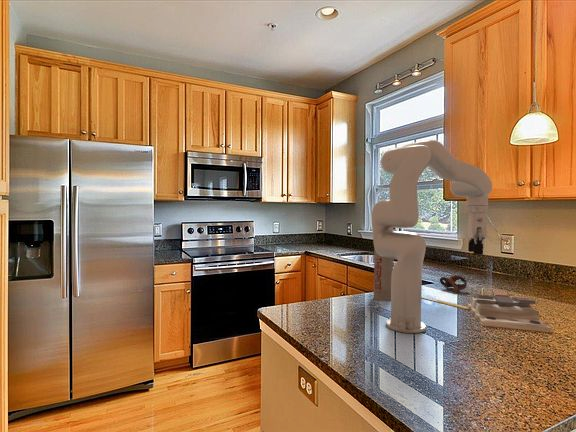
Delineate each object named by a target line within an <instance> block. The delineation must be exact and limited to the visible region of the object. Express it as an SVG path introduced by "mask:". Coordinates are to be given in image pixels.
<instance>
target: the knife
mask: <svg viewBox="0 0 576 432" xmlns="http://www.w3.org/2000/svg"><path fill="white" fill-rule="evenodd" d="M421 299H425V300H428V301H429V300H430V301H433V302H436V303H440V304H443V305H447V306H452V307H456V308H459V309H463V310H466V311H467V310H469V308H468V306H465V305H460V304H456V303H452V302H449V301H444V300H441V299H433V298H429V297H425V296H421ZM469 311H470V310H469Z"/></svg>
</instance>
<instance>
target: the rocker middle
mask: <svg viewBox="0 0 576 432" xmlns="http://www.w3.org/2000/svg"><path fill="white" fill-rule="evenodd" d="M492 296H493V298H494V299H495V300H496V302H497V303H498V305H506V306H514V302H513V301H512V297H510V295H509V294H508V293H507V292H503V291H502V292H501V291H493V292H492Z"/></svg>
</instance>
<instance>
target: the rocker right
mask: <svg viewBox="0 0 576 432" xmlns="http://www.w3.org/2000/svg"><path fill="white" fill-rule="evenodd" d="M511 299H512V300H513V301H515V302H518V303H527V304H530V305H536V300H534V299H531V298H529V297H526V296H524V297H523V296H512V297H511Z"/></svg>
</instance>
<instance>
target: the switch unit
mask: <svg viewBox="0 0 576 432" xmlns="http://www.w3.org/2000/svg"><path fill="white" fill-rule="evenodd" d="M470 300H471V301H470V303H468V304H467V307H468V308H469V311H470V312H471V314H472V315H473V316H474V317H475V319H476V320H477V321H478V323H479V324H480V325H481V326H483V327H485V326H486V327H494V328H502V329H504V328H505V329H513V330H522V331H524V330H525V331H534V332H545V333H552V329H553V328H552V326H550V325H549V324H548V323H546V322H544V320H542V319H540V311H539V310H537V309H536V308H534V307H533V306H531V304H527V303H518V302H515V301H513V300H512V301H513V302H514V306H506V305H498V303H497V302H496V300H495V298H494V300H489V299H477V298H474V296H471V299H470Z"/></svg>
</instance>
